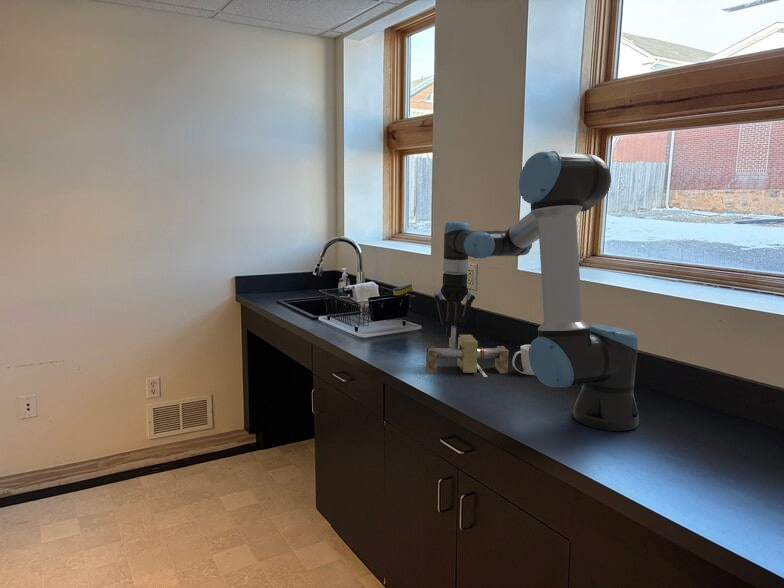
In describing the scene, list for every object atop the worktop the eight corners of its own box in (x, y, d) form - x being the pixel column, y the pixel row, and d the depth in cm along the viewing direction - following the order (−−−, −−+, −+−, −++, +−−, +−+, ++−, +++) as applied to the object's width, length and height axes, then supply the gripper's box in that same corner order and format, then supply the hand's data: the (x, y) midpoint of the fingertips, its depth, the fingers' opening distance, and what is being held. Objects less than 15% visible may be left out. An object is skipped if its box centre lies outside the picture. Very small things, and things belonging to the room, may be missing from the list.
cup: (546, 375, 183) (548, 349, 182) (518, 378, 179) (520, 351, 178) (533, 368, 189) (534, 343, 188) (505, 371, 186) (507, 346, 184)
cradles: (502, 367, 190) (503, 345, 189) (507, 373, 184) (508, 351, 183) (425, 367, 188) (426, 345, 186) (428, 373, 182) (429, 351, 180)
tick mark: (477, 363, 193) (477, 363, 193) (487, 377, 179) (487, 376, 179) (474, 363, 193) (474, 363, 193) (484, 377, 179) (484, 376, 179)
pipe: (503, 356, 188) (504, 346, 187) (506, 360, 184) (507, 349, 184) (427, 357, 186) (427, 346, 185) (429, 360, 182) (429, 349, 182)
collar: (469, 363, 190) (471, 334, 189) (476, 372, 181) (477, 342, 180) (457, 363, 190) (458, 334, 188) (463, 372, 181) (464, 342, 179)
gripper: (473, 271, 189) (469, 344, 193) (432, 270, 188) (429, 344, 192) (478, 274, 182) (475, 350, 186) (436, 274, 180) (433, 350, 184)
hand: (452, 347), depth 189 cm, fingers closed
